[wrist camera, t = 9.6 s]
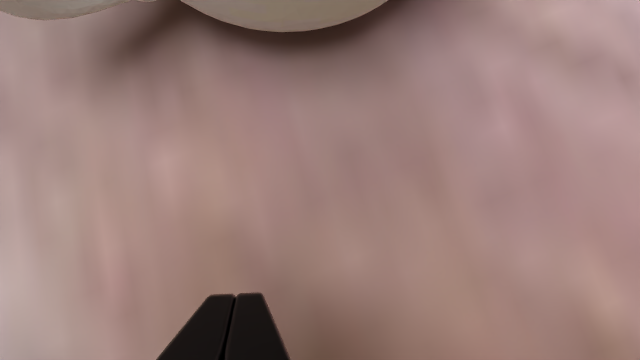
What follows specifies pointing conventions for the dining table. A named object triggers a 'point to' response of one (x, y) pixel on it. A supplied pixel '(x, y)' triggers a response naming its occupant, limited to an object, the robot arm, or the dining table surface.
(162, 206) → the dining table surface
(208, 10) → the teacup
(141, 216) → the dining table surface
